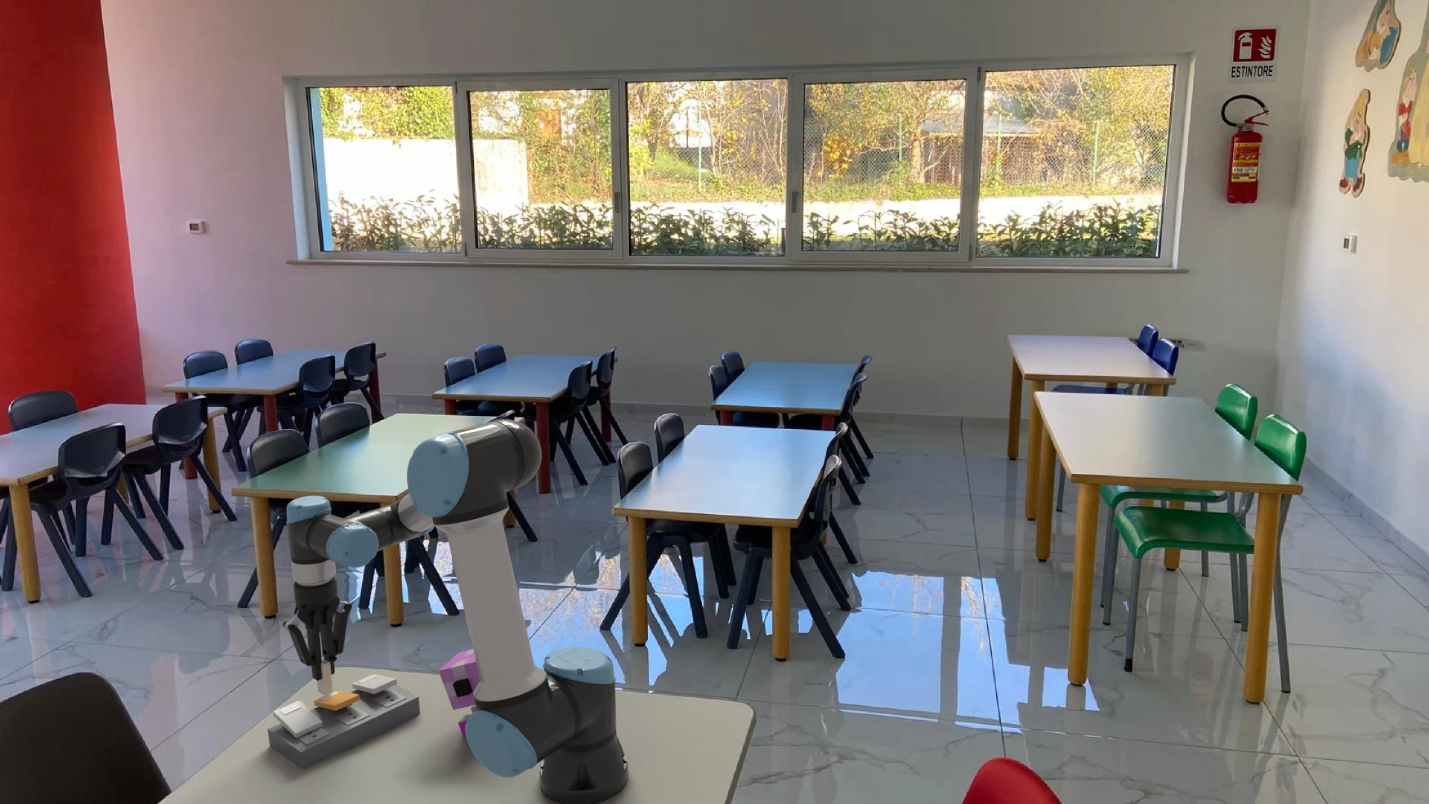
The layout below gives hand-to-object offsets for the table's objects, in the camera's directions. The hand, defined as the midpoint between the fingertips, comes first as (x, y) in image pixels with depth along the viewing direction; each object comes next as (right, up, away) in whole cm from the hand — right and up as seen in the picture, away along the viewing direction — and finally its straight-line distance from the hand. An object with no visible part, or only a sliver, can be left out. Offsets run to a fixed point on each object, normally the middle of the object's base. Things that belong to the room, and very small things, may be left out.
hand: (325, 692), depth 189 cm
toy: (+31, -6, -2) cm, 31 cm away
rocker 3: (+8, 0, +4) cm, 9 cm away
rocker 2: (+3, -2, -2) cm, 4 cm away
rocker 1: (-2, -3, -8) cm, 9 cm away
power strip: (+5, -6, -3) cm, 9 cm away
